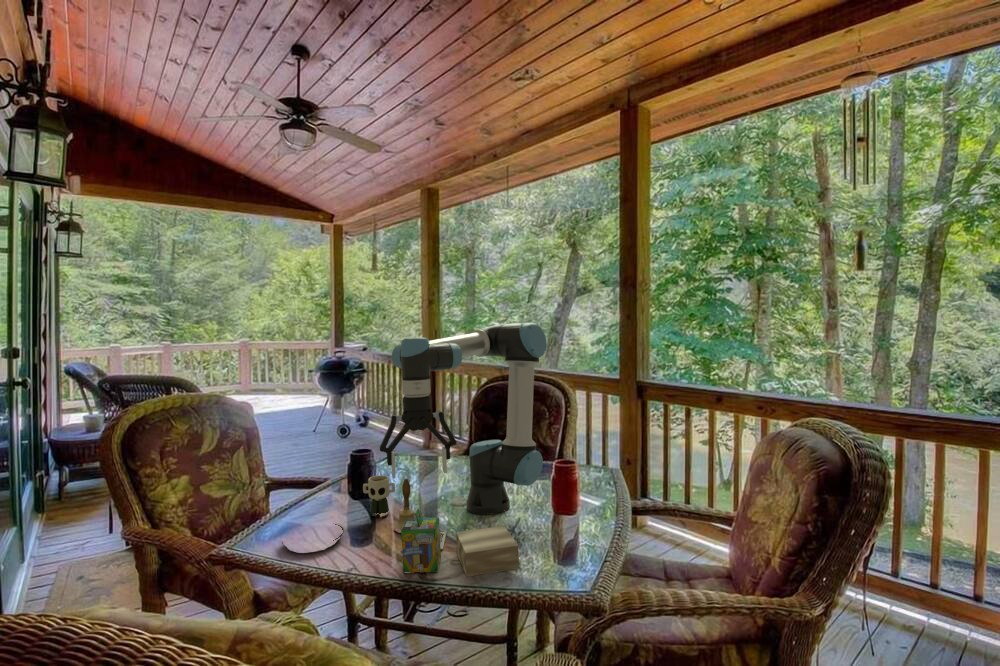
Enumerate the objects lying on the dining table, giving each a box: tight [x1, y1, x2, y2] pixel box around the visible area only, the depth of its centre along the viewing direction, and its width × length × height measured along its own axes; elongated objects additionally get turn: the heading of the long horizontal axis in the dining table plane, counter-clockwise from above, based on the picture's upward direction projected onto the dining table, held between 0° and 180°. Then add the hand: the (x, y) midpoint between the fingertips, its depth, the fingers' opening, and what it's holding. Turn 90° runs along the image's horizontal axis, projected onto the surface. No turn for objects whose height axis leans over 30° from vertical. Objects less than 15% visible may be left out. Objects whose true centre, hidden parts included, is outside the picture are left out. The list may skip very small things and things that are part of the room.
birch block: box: [455, 525, 520, 578], centre depth 138 cm, size 14×14×6 cm
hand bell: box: [395, 478, 416, 530], centre depth 162 cm, size 8×8×16 cm
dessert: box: [440, 531, 447, 550], centre depth 151 cm, size 12×12×5 cm
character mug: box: [362, 475, 396, 514], centre depth 174 cm, size 11×7×13 cm, turn 90°
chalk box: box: [400, 508, 442, 574], centre depth 136 cm, size 9×9×15 cm
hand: (419, 474), depth 136 cm, fingers open, 13 cm apart
